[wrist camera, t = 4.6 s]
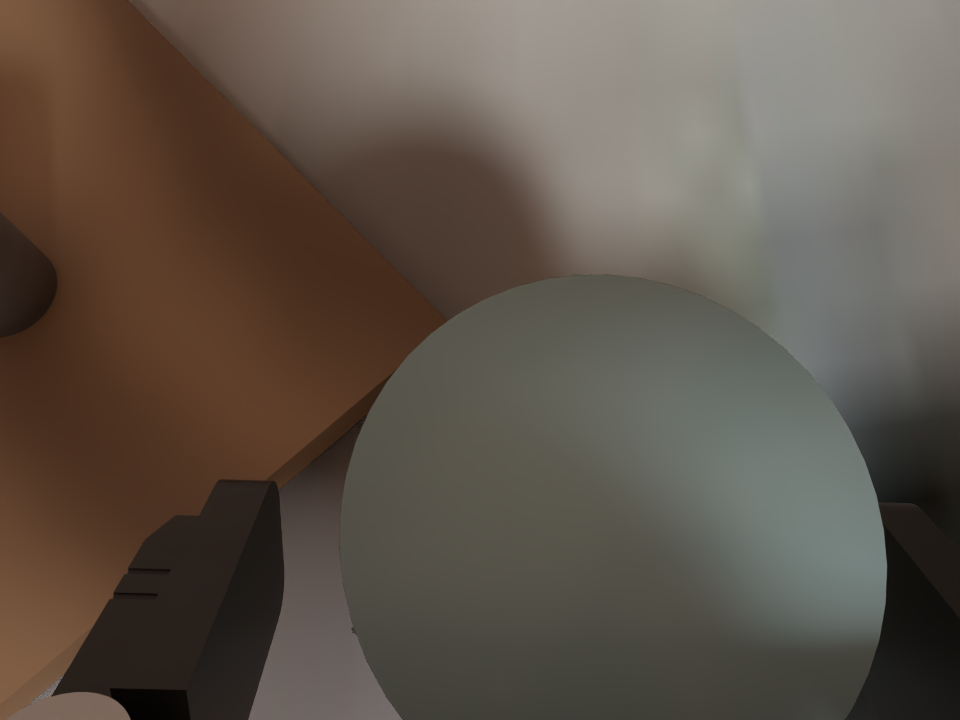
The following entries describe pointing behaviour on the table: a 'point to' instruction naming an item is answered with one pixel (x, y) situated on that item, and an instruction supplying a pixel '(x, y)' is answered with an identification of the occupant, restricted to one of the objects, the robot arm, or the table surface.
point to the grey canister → (610, 518)
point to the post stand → (154, 315)
